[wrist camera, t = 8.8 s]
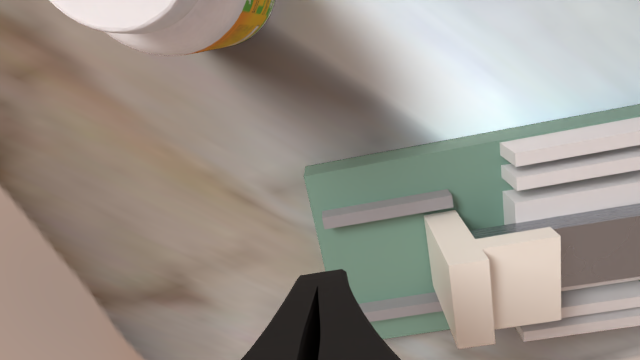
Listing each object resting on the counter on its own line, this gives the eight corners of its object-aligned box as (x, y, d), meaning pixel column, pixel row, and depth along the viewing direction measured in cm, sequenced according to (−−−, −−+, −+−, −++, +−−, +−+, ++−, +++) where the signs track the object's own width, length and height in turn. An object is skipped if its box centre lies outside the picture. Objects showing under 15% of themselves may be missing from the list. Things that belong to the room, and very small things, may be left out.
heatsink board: (731, 87, 19) (844, 104, 15) (707, 271, 22) (794, 328, 18) (305, 166, 21) (299, 201, 17) (341, 326, 24) (344, 389, 20)
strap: (749, 174, 18) (792, 190, 16) (737, 247, 19) (776, 269, 17) (467, 220, 19) (479, 239, 17) (473, 286, 20) (485, 310, 19)
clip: (519, 198, 20) (571, 246, 15) (522, 271, 21) (571, 333, 17) (423, 215, 20) (448, 265, 16) (432, 285, 21) (458, 349, 17)
